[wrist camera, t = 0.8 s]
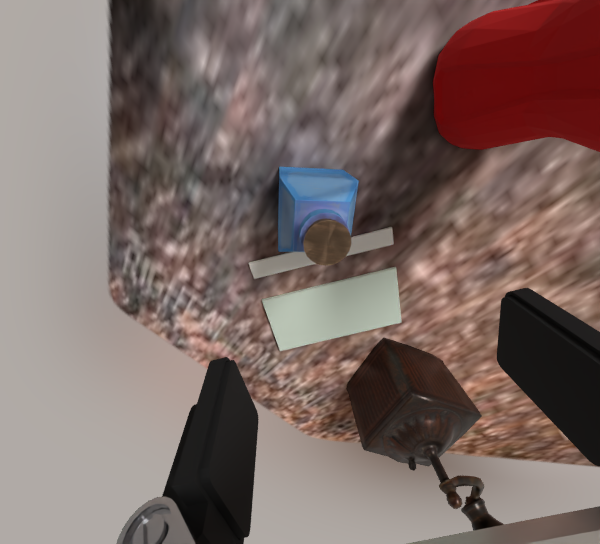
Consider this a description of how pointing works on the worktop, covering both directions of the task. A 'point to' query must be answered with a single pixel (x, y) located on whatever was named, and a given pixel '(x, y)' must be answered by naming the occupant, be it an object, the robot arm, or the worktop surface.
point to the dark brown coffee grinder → (416, 416)
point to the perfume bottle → (316, 212)
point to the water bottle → (522, 77)
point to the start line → (301, 260)
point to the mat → (334, 309)
